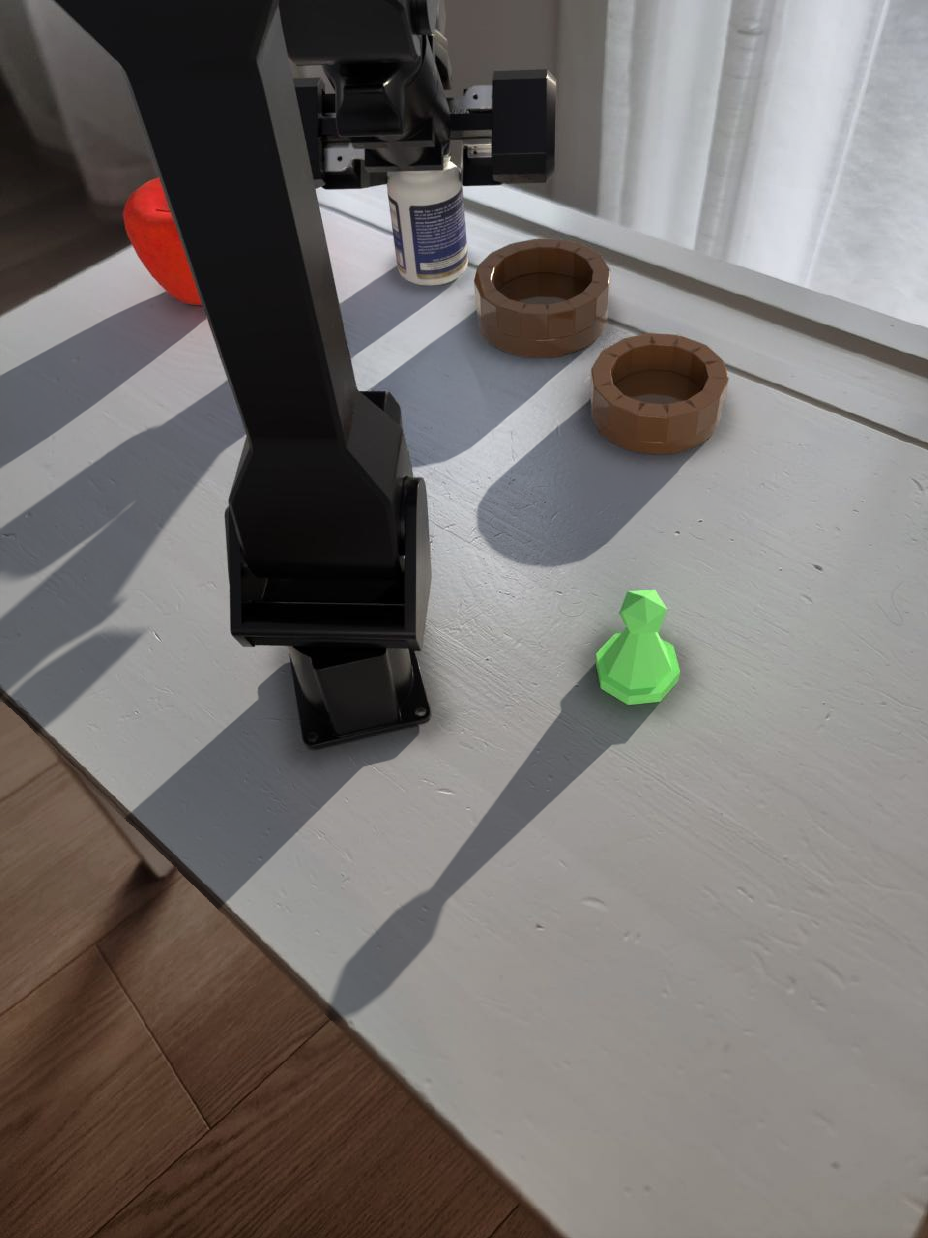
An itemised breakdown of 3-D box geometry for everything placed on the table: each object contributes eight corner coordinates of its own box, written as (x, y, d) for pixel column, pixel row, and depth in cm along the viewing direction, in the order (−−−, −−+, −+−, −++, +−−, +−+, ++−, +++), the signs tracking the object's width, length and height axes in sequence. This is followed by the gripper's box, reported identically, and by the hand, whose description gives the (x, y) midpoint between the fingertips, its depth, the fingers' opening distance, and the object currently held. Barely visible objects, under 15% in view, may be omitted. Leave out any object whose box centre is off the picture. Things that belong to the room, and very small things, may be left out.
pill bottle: (482, 258, 76) (474, 130, 69) (443, 295, 73) (431, 165, 66) (423, 241, 78) (409, 115, 71) (384, 276, 76) (365, 148, 68)
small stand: (742, 438, 62) (750, 400, 59) (613, 466, 61) (615, 428, 58) (693, 361, 67) (698, 322, 64) (573, 386, 66) (573, 348, 64)
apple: (287, 267, 77) (265, 169, 71) (227, 332, 72) (198, 232, 66) (191, 249, 80) (162, 152, 74) (127, 310, 75) (90, 212, 69)
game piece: (696, 684, 50) (711, 609, 46) (623, 719, 49) (631, 646, 45) (648, 626, 53) (658, 549, 48) (578, 658, 52) (581, 583, 47)
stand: (625, 343, 68) (628, 298, 66) (496, 369, 68) (493, 325, 65) (584, 272, 74) (585, 228, 71) (464, 295, 73) (461, 252, 71)
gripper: (556, -80, 54) (559, 51, 70) (225, -63, 56) (299, 61, 72) (553, 134, 56) (556, 216, 71) (228, 143, 57) (300, 221, 73)
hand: (426, 174), depth 72 cm, fingers closed on pill bottle, 5 cm apart
